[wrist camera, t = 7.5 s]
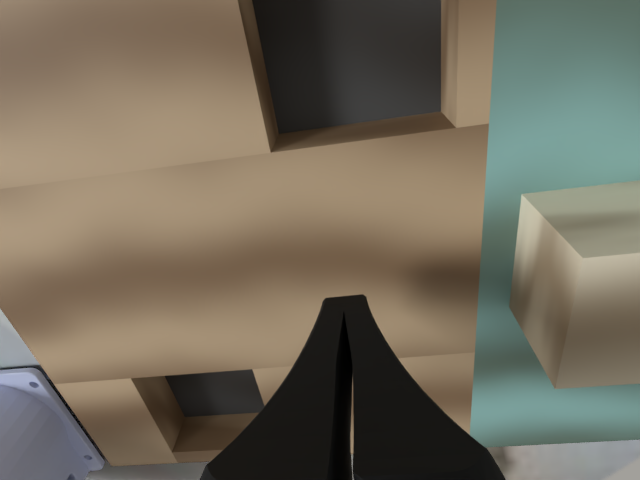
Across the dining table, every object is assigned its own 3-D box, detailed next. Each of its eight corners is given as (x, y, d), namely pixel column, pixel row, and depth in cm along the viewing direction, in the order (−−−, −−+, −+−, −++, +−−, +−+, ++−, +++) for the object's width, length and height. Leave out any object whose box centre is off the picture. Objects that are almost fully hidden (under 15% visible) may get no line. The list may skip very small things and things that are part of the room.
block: (642, 295, 16) (727, 377, 12) (508, 306, 16) (554, 388, 13) (680, 175, 13) (801, 237, 10) (521, 193, 14) (582, 258, 10)
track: (643, 395, 22) (704, 474, 18) (130, 426, 25) (95, 499, 22) (882, -234, 10) (1192, -367, 7) (-145, -24, 13) (-328, -33, 10)
